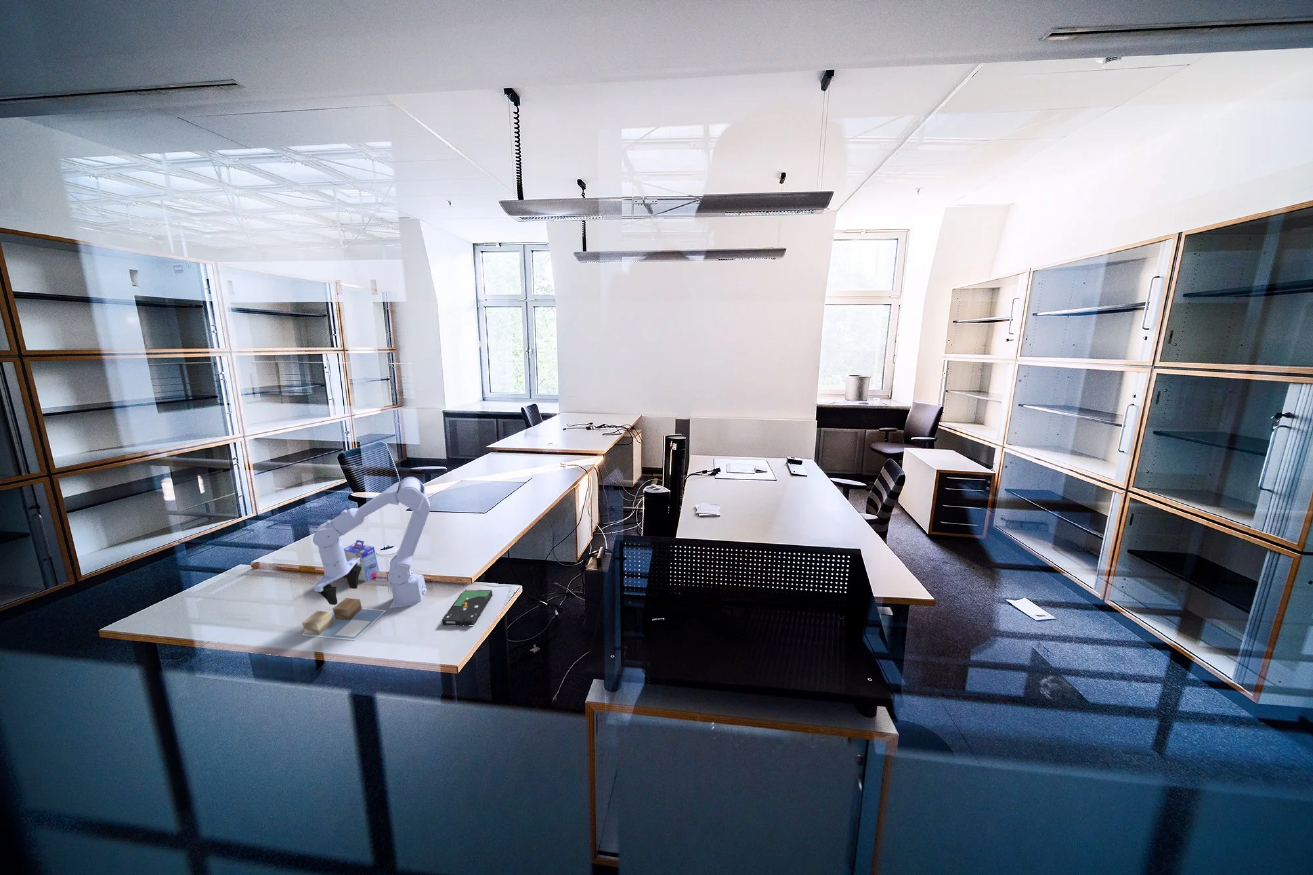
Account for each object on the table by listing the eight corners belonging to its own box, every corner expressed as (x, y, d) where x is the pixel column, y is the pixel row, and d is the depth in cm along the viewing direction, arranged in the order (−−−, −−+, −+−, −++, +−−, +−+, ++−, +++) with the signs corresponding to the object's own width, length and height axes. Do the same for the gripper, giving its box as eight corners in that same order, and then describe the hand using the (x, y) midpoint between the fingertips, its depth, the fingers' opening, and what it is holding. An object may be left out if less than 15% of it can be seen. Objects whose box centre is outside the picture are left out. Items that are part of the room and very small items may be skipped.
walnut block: (362, 609, 132) (359, 599, 131) (349, 620, 127) (346, 609, 126) (348, 607, 132) (345, 597, 131) (335, 618, 128) (332, 608, 126)
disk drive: (474, 627, 126) (493, 595, 140) (473, 620, 125) (492, 589, 139) (442, 627, 126) (464, 595, 140) (440, 620, 125) (463, 588, 139)
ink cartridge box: (381, 574, 151) (373, 540, 146) (367, 583, 146) (359, 549, 141) (361, 569, 153) (353, 536, 149) (347, 578, 148) (338, 544, 144)
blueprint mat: (387, 611, 132) (386, 609, 131) (354, 642, 119) (354, 640, 119) (338, 607, 134) (337, 605, 133) (301, 636, 121) (300, 635, 121)
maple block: (334, 622, 126) (331, 612, 125) (319, 634, 121) (316, 623, 120) (320, 621, 127) (317, 610, 125) (305, 632, 122) (301, 622, 121)
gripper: (342, 545, 131) (351, 580, 135) (300, 572, 117) (311, 610, 121) (361, 547, 130) (370, 582, 134) (321, 574, 116) (332, 612, 120)
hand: (344, 595), depth 128 cm, fingers open, 7 cm apart
